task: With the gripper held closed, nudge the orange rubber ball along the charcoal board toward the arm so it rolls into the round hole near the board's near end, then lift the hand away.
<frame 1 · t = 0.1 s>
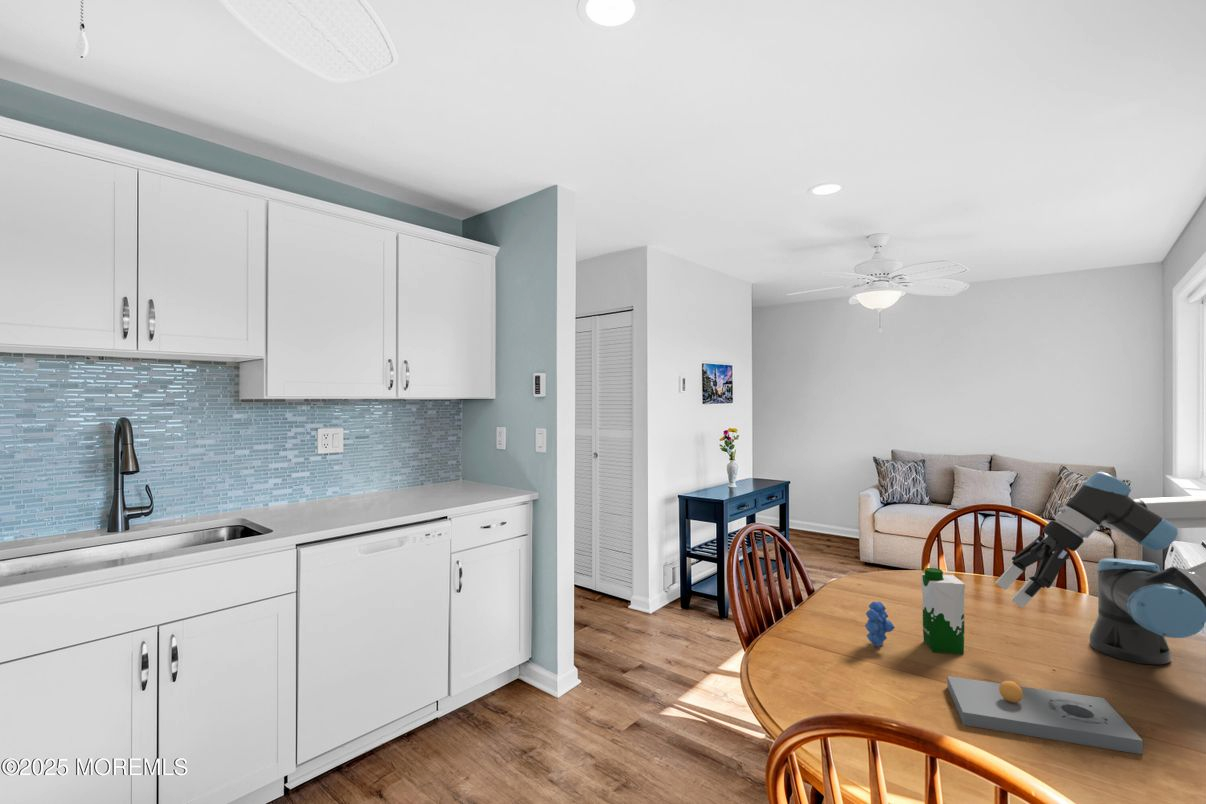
hand: (1008, 594, 144), 15 cm above the table, tool tilted 35°, fingers open, 13 cm apart
milk carton: (943, 648, 150), on the table
ball: (1011, 691, 118), point 4 cm above the table, touching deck
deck: (1034, 717, 117), on the table
grapes: (881, 648, 151), on the table
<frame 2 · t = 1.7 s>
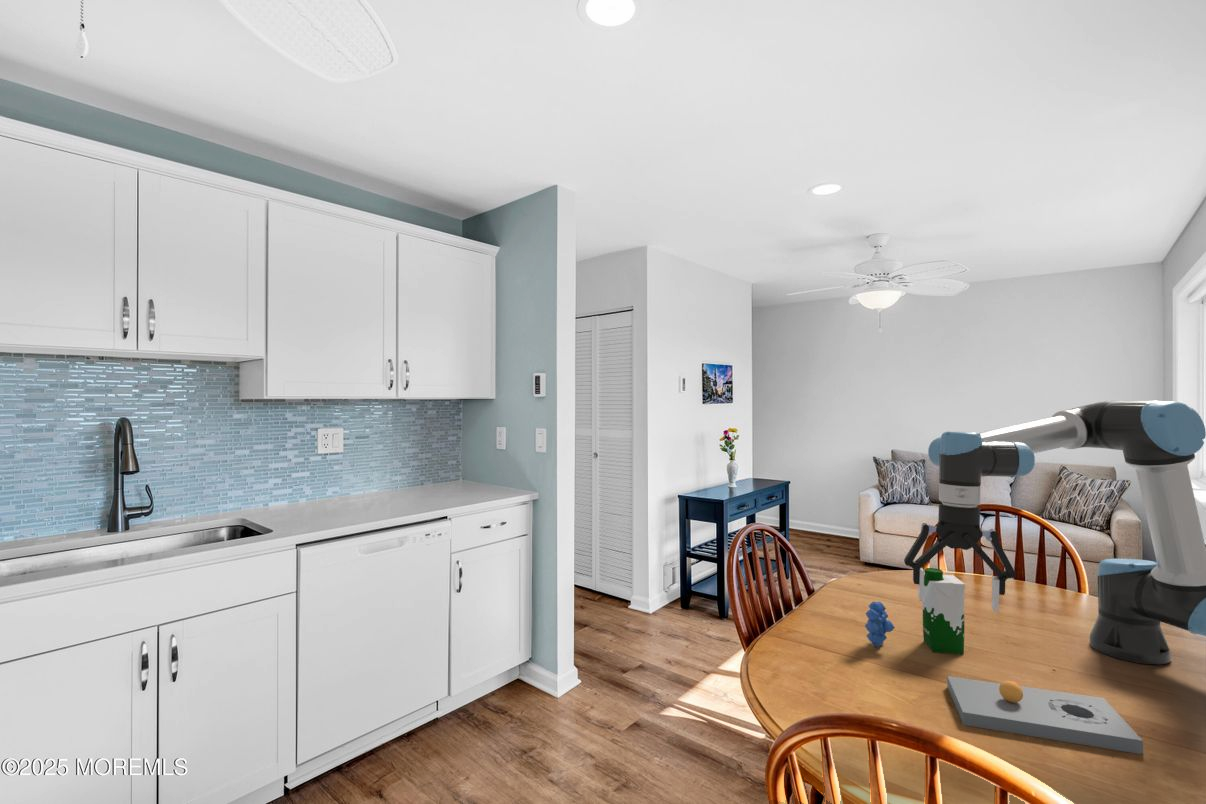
hand: (957, 604, 123), 21 cm above the table, tool pointing down, fingers open, 13 cm apart
nothing on the table moved.
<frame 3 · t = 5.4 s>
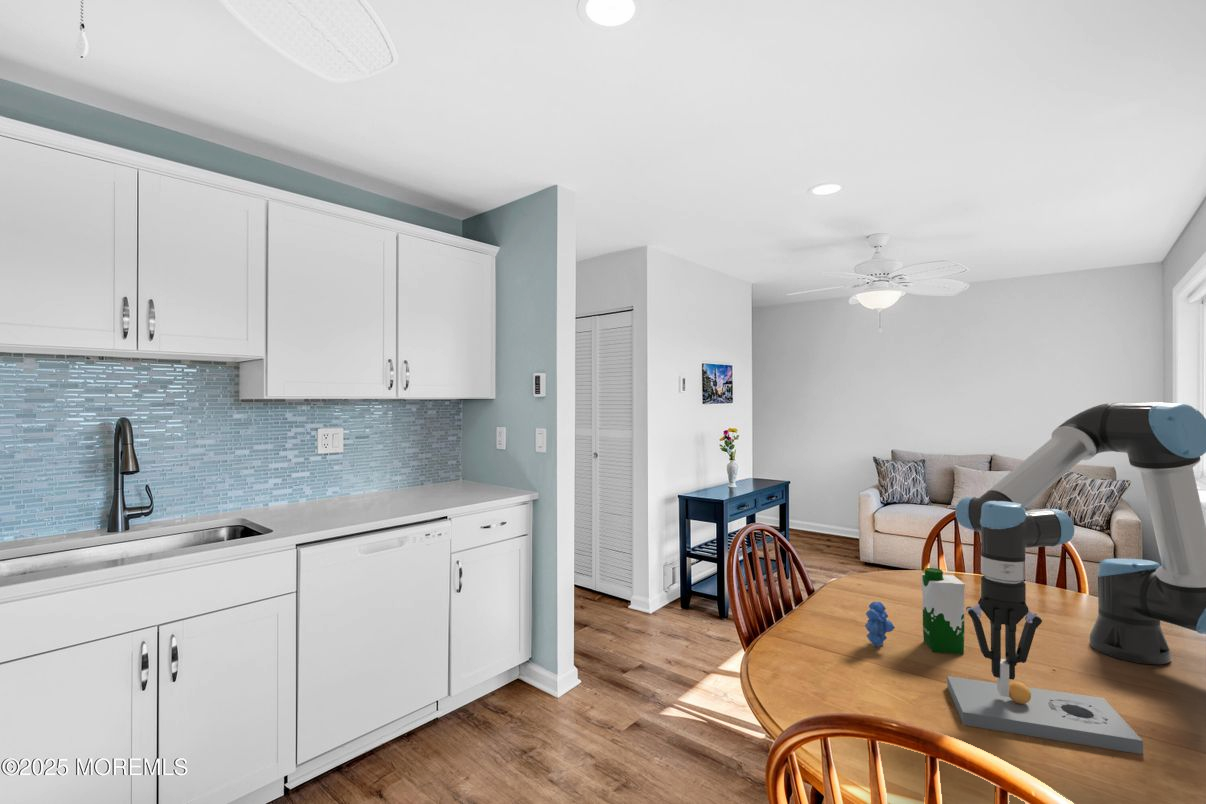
hand: (1003, 693, 119), 4 cm above the table, tool pointing down, fingers closed
ball: (1018, 692, 118), point 5 cm above the table, tilted 34°, touching gripper
everything else where it was.
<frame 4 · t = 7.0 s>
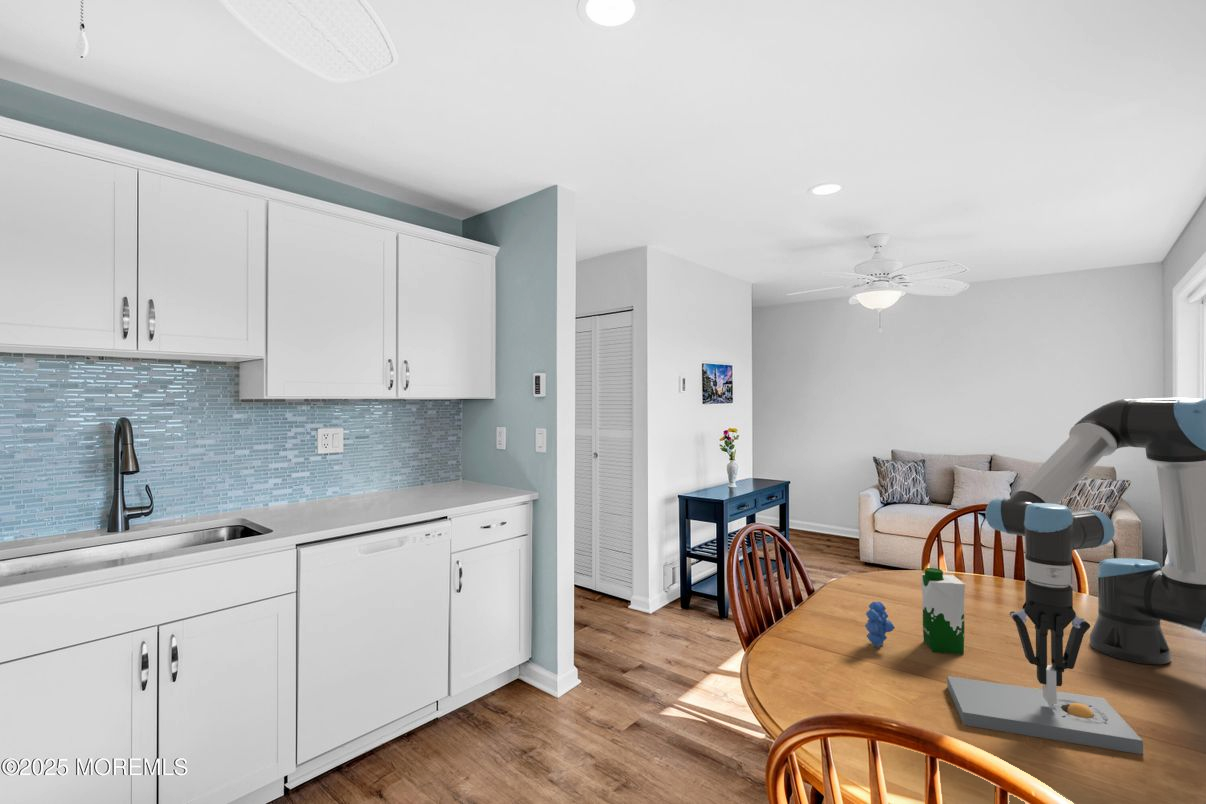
hand: (1049, 700, 116), 4 cm above the table, tool pointing down, fingers closed
ball: (1080, 714, 114), point 2 cm above the table, tilted 6°
everything else where it was.
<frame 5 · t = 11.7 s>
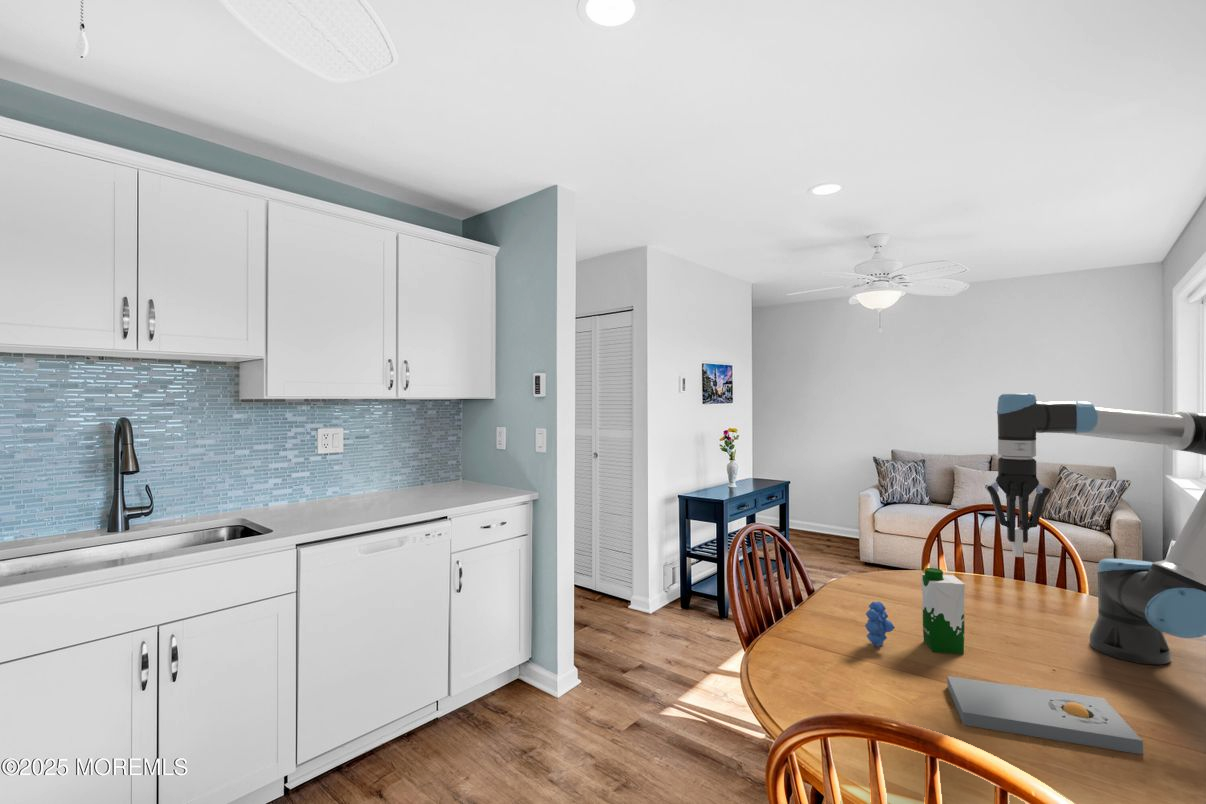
hand: (1017, 555, 140), 26 cm above the table, tool pointing down, fingers closed
ball: (1075, 713, 115), point 2 cm above the table, tilted 26°
everything else where it was.
at the end: ball 0.2 cm from the target spot on the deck, point 2.0 cm above the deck's base; ball moved 11.1 cm from its start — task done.
